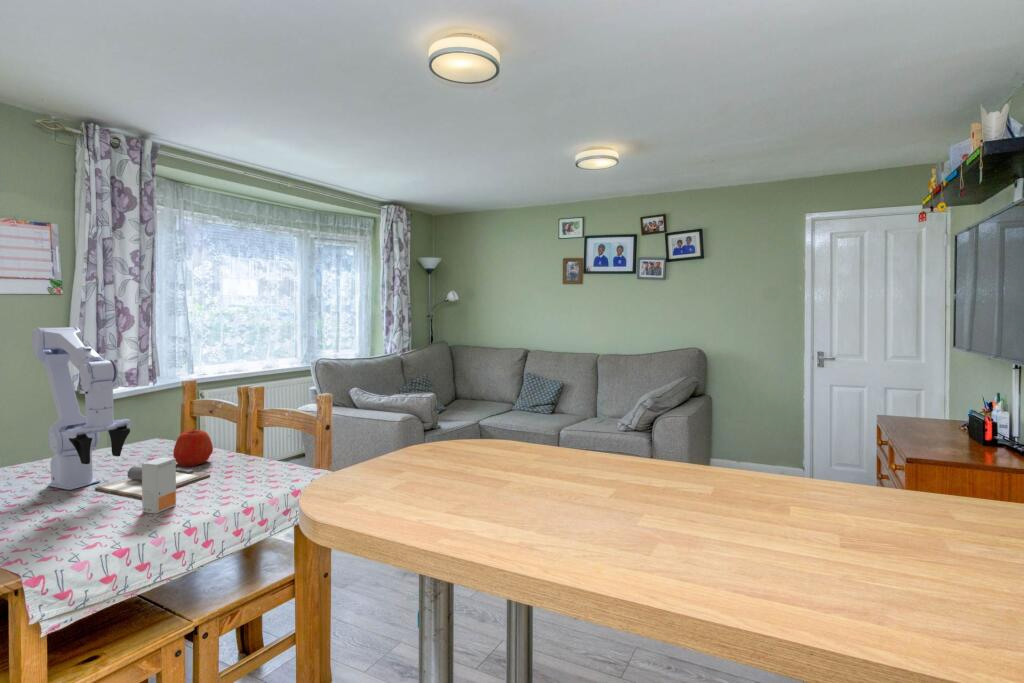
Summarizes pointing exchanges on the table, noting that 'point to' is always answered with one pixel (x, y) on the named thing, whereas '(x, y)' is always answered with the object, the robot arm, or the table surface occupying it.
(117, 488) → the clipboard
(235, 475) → the table surface
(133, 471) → the marker
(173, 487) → the skincare box
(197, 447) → the apple
